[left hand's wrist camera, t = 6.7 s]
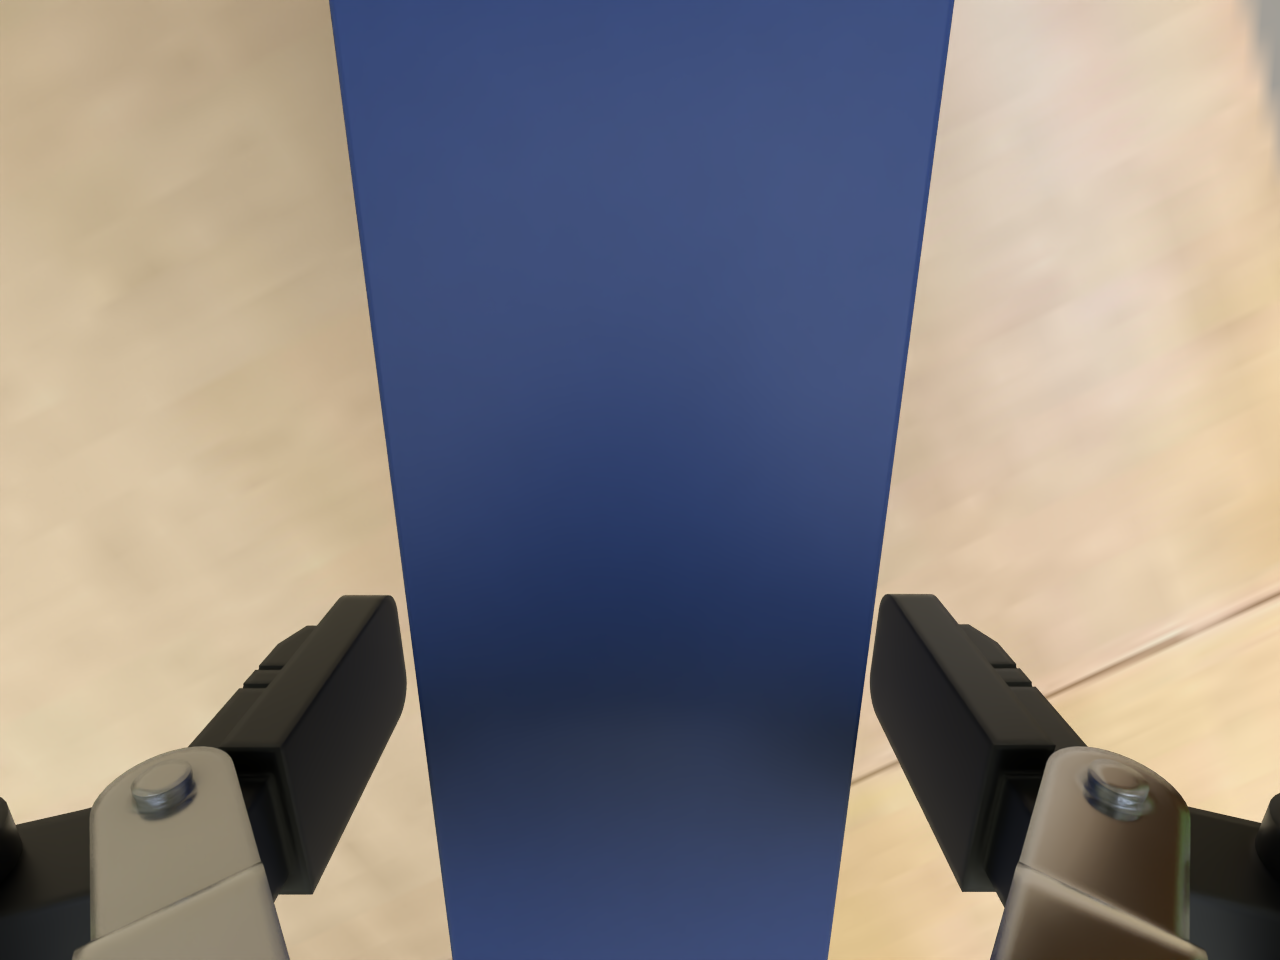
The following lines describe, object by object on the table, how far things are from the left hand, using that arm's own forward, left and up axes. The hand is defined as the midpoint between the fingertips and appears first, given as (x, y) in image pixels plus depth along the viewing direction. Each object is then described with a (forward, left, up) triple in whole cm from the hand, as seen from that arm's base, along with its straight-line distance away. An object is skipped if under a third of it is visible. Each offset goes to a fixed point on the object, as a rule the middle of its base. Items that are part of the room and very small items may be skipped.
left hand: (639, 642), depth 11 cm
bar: (+8, 0, -5) cm, 9 cm away
